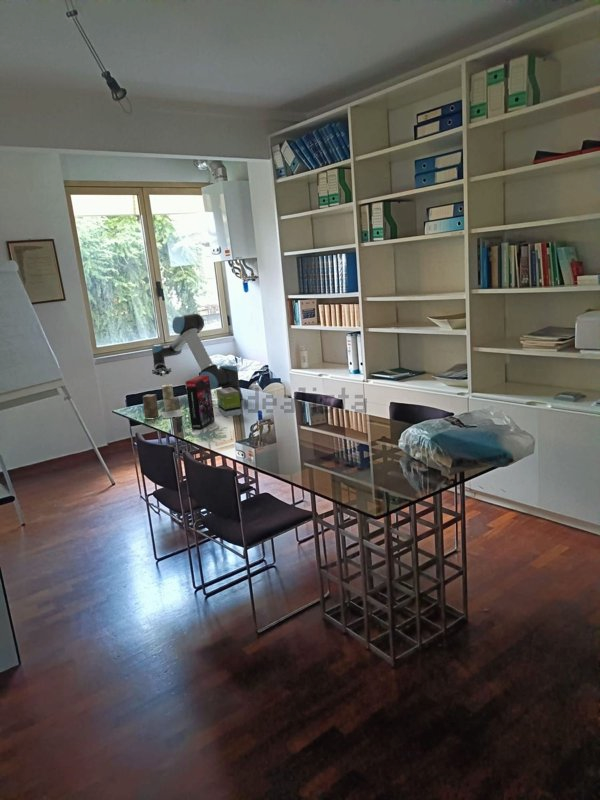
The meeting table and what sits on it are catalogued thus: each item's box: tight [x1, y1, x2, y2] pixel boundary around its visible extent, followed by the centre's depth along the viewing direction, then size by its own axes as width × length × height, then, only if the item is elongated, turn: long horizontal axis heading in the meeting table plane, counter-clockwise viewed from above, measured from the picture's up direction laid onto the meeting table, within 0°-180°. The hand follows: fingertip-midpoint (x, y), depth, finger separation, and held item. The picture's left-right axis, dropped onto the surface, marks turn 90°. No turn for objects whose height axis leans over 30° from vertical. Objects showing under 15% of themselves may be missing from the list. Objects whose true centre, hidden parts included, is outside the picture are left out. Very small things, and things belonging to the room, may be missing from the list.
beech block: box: [161, 383, 176, 412], centre depth 369 cm, size 6×6×16 cm
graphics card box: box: [185, 374, 216, 430], centre depth 325 cm, size 17×7×27 cm, turn 163°
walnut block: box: [142, 393, 160, 419], centre depth 352 cm, size 6×6×14 cm
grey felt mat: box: [160, 409, 184, 419], centre depth 359 cm, size 12×18×1 cm, turn 18°
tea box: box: [215, 387, 242, 418], centre depth 349 cm, size 15×10×15 cm, turn 25°
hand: (163, 374), depth 381 cm, fingers closed
